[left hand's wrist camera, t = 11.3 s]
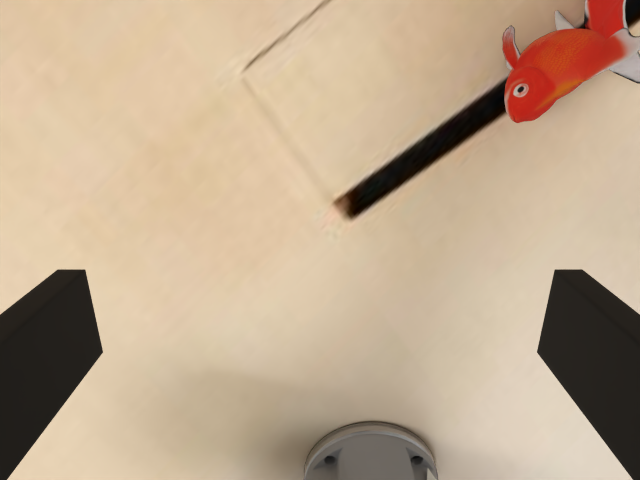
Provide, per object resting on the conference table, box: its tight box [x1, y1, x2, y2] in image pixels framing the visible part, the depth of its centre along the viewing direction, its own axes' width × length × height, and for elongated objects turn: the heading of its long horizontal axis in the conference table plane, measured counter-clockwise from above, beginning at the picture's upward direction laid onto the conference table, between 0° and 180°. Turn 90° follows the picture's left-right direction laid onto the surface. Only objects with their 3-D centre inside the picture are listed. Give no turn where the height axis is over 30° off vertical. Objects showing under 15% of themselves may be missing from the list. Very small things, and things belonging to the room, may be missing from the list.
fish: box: [502, 0, 640, 123], centre depth 31 cm, size 11×16×10 cm
